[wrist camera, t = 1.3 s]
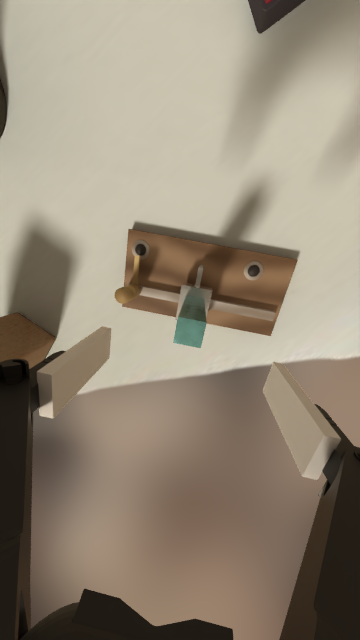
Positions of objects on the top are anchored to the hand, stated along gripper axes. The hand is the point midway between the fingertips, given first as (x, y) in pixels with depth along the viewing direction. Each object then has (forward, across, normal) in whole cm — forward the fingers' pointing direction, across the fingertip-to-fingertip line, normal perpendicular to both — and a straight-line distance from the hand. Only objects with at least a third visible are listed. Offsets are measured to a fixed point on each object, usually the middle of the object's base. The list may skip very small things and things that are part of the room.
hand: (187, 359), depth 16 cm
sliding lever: (+21, 0, +2) cm, 21 cm away
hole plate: (+23, +1, +3) cm, 24 cm away
